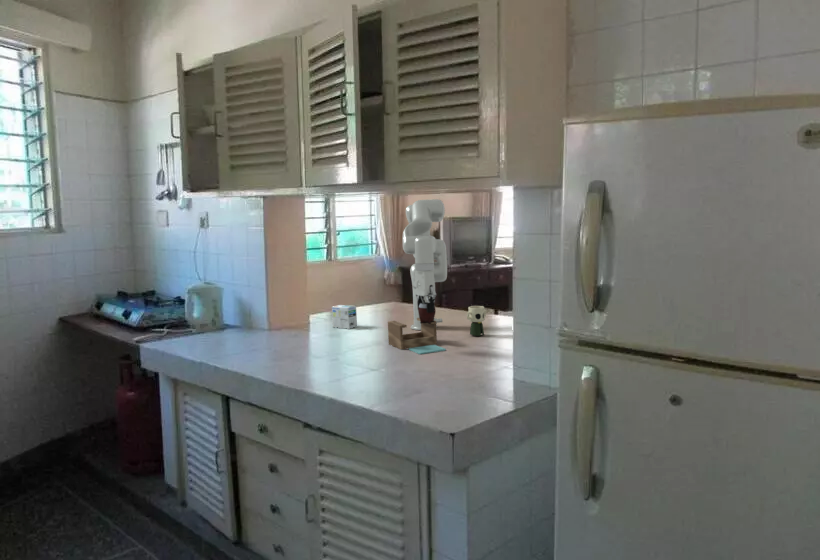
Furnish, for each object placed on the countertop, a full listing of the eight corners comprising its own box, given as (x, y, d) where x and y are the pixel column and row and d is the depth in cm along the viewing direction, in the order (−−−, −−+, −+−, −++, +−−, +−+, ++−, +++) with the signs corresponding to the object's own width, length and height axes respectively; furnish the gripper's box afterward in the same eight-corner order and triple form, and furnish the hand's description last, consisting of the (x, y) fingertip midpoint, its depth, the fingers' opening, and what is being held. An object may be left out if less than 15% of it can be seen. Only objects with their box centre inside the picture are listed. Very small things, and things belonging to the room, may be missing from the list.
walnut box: (423, 339, 282) (422, 317, 281) (436, 344, 271) (436, 321, 270) (388, 344, 274) (387, 321, 273) (400, 349, 264) (400, 325, 263)
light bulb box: (357, 327, 316) (356, 305, 315) (349, 329, 311) (348, 307, 309) (340, 325, 322) (339, 304, 321) (332, 327, 316) (331, 306, 315)
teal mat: (433, 345, 268) (433, 344, 268) (445, 350, 260) (445, 348, 259) (408, 349, 263) (408, 348, 263) (419, 354, 254) (419, 352, 254)
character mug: (473, 338, 280) (472, 309, 279) (462, 336, 286) (461, 307, 285) (491, 335, 286) (490, 306, 285) (480, 332, 292) (480, 304, 291)
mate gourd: (438, 323, 258) (437, 286, 256) (420, 325, 255) (419, 288, 253) (431, 320, 265) (430, 284, 263) (413, 322, 262) (412, 286, 260)
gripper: (406, 266, 263) (408, 309, 265) (426, 269, 248) (428, 315, 250) (422, 265, 267) (423, 307, 269) (443, 268, 251) (444, 313, 253)
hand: (425, 310), depth 259 cm, fingers closed on mate gourd, 7 cm apart
